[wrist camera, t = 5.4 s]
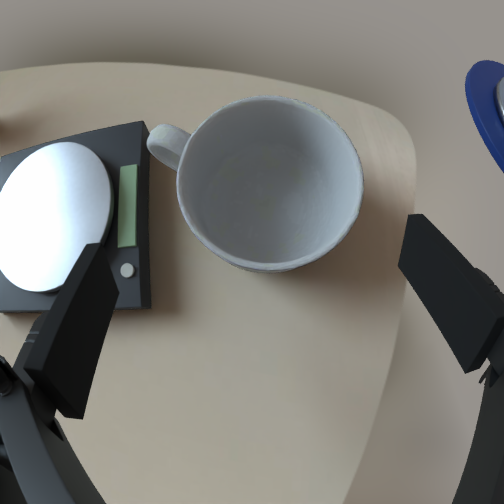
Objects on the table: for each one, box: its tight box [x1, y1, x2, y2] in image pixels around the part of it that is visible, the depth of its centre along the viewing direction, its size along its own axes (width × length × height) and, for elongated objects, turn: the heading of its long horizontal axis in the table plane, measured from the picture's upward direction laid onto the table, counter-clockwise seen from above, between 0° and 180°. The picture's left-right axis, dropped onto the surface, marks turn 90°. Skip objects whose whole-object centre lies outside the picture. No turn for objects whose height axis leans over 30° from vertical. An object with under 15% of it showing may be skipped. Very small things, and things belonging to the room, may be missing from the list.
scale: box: [0, 121, 151, 313], centre depth 24 cm, size 16×15×3 cm
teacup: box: [147, 95, 364, 273], centre depth 22 cm, size 14×11×8 cm
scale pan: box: [0, 142, 114, 293], centre depth 22 cm, size 12×12×1 cm
